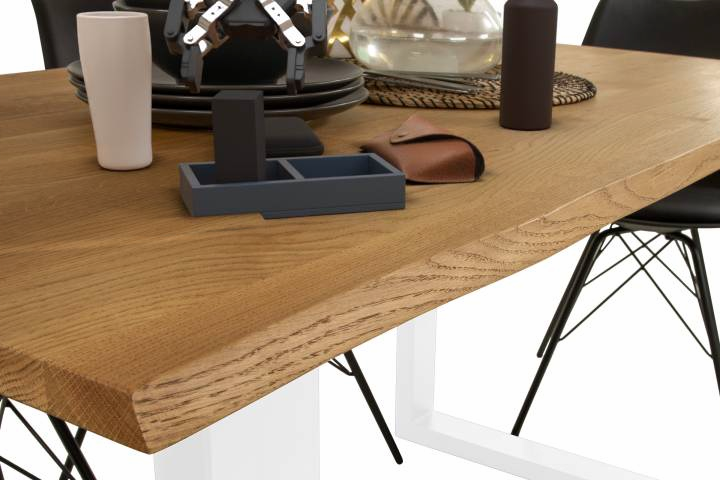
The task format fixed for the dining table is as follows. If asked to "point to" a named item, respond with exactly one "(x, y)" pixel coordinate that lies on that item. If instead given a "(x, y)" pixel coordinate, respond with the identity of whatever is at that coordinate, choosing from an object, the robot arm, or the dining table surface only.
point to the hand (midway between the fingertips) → (242, 89)
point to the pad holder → (297, 187)
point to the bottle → (528, 64)
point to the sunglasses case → (428, 152)
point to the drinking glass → (118, 85)
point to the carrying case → (290, 138)
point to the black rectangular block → (239, 136)
